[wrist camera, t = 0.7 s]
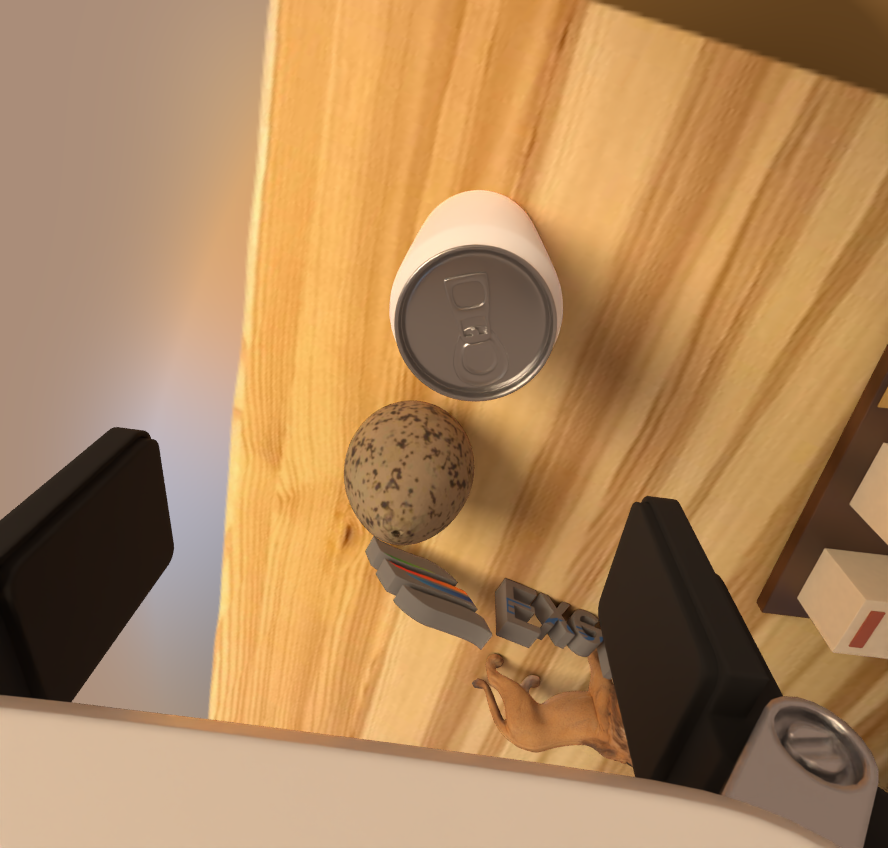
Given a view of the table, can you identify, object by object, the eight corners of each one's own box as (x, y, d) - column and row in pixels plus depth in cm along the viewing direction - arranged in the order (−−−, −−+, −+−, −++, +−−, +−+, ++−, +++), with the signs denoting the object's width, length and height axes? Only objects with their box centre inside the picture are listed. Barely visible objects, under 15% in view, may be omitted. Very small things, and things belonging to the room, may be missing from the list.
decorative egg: (416, 496, 38) (396, 610, 29) (337, 424, 35) (289, 525, 27) (498, 435, 35) (503, 540, 26) (419, 354, 33) (396, 440, 24)
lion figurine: (648, 619, 42) (687, 736, 34) (662, 665, 44) (701, 785, 36) (462, 657, 45) (458, 772, 37) (483, 699, 47) (484, 815, 39)
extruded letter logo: (368, 539, 40) (352, 599, 35) (376, 524, 39) (361, 583, 34) (664, 660, 44) (687, 730, 39) (677, 648, 43) (702, 717, 38)
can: (430, 322, 32) (405, 424, 21) (404, 202, 29) (359, 252, 18) (545, 302, 31) (578, 397, 20) (530, 175, 28) (559, 212, 17)
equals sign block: (824, 547, 36) (866, 601, 32) (893, 555, 36) (944, 610, 32) (796, 597, 39) (833, 653, 35) (862, 605, 39) (906, 662, 35)
